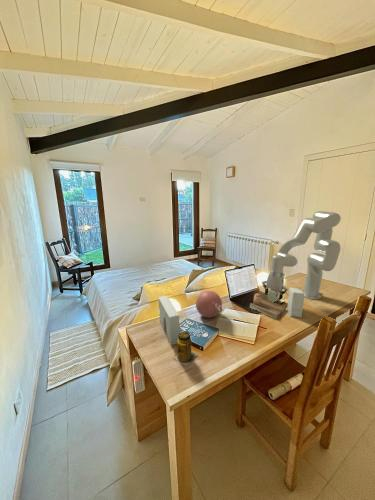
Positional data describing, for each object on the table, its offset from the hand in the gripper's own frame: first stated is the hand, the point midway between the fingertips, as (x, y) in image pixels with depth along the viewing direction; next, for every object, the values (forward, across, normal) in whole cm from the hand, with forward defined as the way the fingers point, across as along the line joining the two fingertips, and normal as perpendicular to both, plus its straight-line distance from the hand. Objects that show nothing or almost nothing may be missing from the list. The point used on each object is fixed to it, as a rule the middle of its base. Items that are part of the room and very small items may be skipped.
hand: (273, 296), depth 144 cm
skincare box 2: (+3, -16, +7) cm, 18 cm away
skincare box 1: (+3, +24, +73) cm, 77 cm away
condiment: (+3, +5, +79) cm, 79 cm away
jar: (+1, +4, +16) cm, 16 cm away
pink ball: (+3, +17, +47) cm, 50 cm away
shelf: (+3, -2, +13) cm, 14 cm away
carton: (+3, 0, 0) cm, 3 cm away
